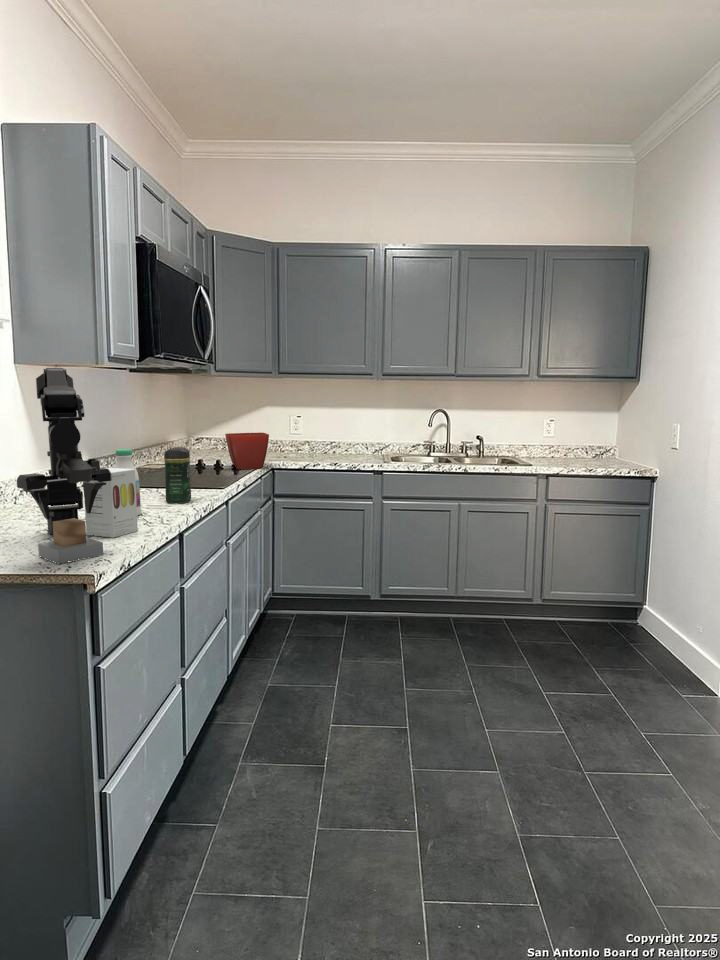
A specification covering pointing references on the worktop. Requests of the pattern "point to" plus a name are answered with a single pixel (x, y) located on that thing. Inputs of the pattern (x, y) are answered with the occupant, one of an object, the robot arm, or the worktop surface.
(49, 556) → the slate slab
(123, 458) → the milk bottle
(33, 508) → the worktop surface
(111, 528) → the supplement box
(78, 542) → the walnut cube
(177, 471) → the coffee jar
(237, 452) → the plant pot
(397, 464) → the worktop surface
